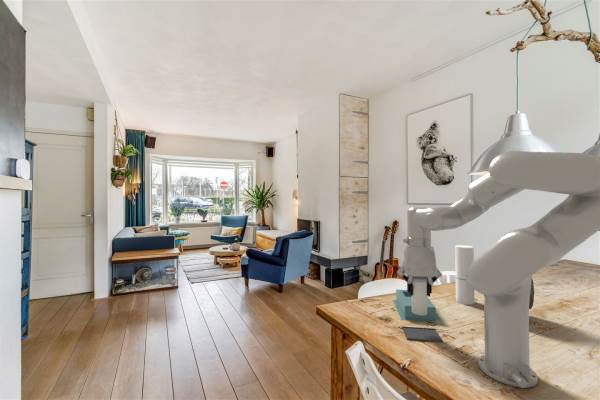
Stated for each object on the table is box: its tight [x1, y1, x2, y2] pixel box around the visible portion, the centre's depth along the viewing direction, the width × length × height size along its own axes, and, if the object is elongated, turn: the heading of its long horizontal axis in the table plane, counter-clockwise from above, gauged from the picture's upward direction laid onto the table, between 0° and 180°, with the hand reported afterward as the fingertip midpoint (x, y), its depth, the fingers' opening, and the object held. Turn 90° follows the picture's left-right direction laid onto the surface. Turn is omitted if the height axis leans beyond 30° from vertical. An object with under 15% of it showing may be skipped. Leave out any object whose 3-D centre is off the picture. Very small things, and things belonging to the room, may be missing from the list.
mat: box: [401, 326, 444, 343], centre depth 94 cm, size 11×11×1 cm
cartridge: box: [412, 276, 428, 315], centre depth 94 cm, size 5×5×12 cm
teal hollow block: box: [392, 288, 441, 323], centre depth 111 cm, size 21×14×6 cm, turn 170°
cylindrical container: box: [454, 244, 475, 306], centre depth 122 cm, size 7×7×25 cm
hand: (419, 294), depth 94 cm, fingers closed on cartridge, 5 cm apart
